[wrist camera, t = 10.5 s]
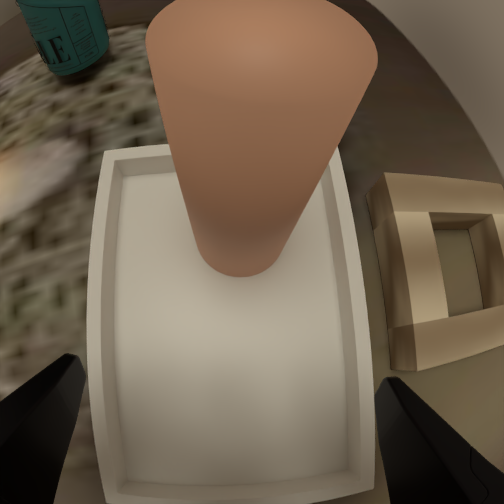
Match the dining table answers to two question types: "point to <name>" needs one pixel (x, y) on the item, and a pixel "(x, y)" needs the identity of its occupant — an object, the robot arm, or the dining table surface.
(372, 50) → the dowel
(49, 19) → the beverage bottle
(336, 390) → the tray
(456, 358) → the holder
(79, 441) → the dining table surface
